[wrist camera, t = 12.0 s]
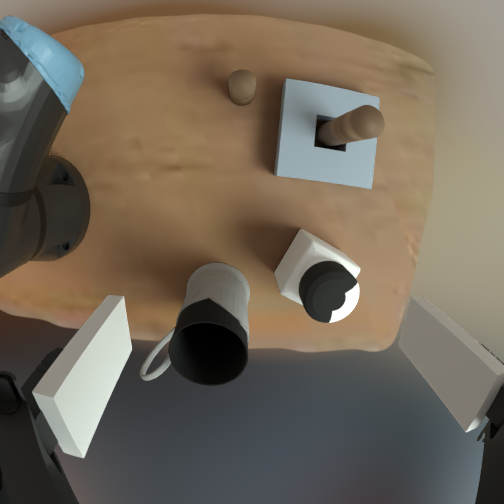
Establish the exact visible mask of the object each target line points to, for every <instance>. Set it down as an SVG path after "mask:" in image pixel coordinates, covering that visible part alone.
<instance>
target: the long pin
mask: <svg viewBox="0 0 504 504" xmlns="http://www.w3.org/2000/svg"><path fill="white" fill-rule="evenodd" d="M383 130H384V118H383V116H382V114H381V112H380V111H379V110H378V109H377V108H375V107H373V106H371V105H362V106H360V107H358V108H356V109H353V110H351V111H349V112H347V113H345V114H343V115H341V116H339V117H337V118H334V119H332V120H330V121H328V122H326V123H324V124H322V125H320V126H319V127H317V129H316V130H315V140H316V141H317V143H318V144H319V145H321V146H323V147H330V146H335V145H340V144H345V143H350V142H355V141H361V140H366V139H372V138H376V137H378V136H379V135H380V134H381V133H382V132H383Z"/></svg>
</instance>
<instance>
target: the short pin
mask: <svg viewBox="0 0 504 504" xmlns="http://www.w3.org/2000/svg"><path fill="white" fill-rule="evenodd" d="M228 86H229V93H230V98H231V100H232V102H233V103H234V104H236V105H239V106H244V105H247V104H249V103H250V102H251V101H252V100H253V97H254V93H255V88H256V78H255V76H254V75H253V74H252V73H251V72H249V71H247V70H238V71H235V72H234V73H232V74H231V75H230V77H229V79H228Z"/></svg>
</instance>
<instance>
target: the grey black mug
mask: <svg viewBox="0 0 504 504" xmlns="http://www.w3.org/2000/svg"><path fill="white" fill-rule="evenodd" d="M249 298H250V289H249V285H248V282H247V280H246V278H245V277H244V275H243V274H242V273H241V272H240V271H239V270H238V269H236V268H234V267H233V266H230V265H228V264H224V263H209V264H206V265H204V266H201V267H200V268H198V269H197V270H196V271H195V272H194V273H193V274H192V275H191V277H190V278H189V280H188V283H187V288H186V297H185V299H184V302H183V304H182V307H181V309H180V312H179V315H178V317H177V322H176V327H175V328H174V329H173V330H172V331H170V332H169V333H168V334H167V335H166V336H165V337H164V338H163V339H162V340H161V341H160V342H159V343H158V344H157V345H156V347H155V348H154V349H153V350H152V351H151V353H150V354H149V355H148V357H147V358H146V360H145V362H144V364H143V365H142V368H141V370H140V376H141V377H142V379H144V380H147V381H148V380H152V379H154V378H156V377H158V376H159V375H160V374H162V373H163V372H164V371H165V370H166V369H167V368H168V366H169V365H170V363H172V365H173V366H174V368H175V369H176V371H177V372H178V373H179V374H181V375H182V376H183V377H184V378H186V379H188V380H189V381H192V382H194V383H197V384H200V385H207V386H217V385H222V384H226V383H228V382H231V381H233V380H234V379H236V378H237V377H238V376H239V375H241V373H242V372H243V371H244V369H245V367H246V365H247V362H248V342H249V328H248V310H247V304H248V302H249ZM170 339H171V341H170V344H169V349H168V351H169V352H168V355H167V357H166V359H165V360H164V362H163V363H162V364H161V365H160V367H159V368H157V369H156V370H155V371H154V372H152V373H150V374H148V375H145V374H146V371H147V368H148V366H149V365H150V363H151V361H152V360H153V358H154V357H155V356H156V354H157V353H158V352H159V350H160V349H161V348H162V347H163V346H164V345H165V344H166V343H167V342H168V341H169V340H170Z"/></svg>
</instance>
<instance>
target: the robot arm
mask: <svg viewBox="0 0 504 504" xmlns="http://www.w3.org/2000/svg"><path fill="white" fill-rule="evenodd" d="M83 80H84V68H83V65H82V64H81V62H80V61H79V60H78V58H77V57H76V56H75V55H74V54H73V53H72V52H70V51H69V50H68V49H67V48H66V47H64V46H63V45H62V44H60V43H59V42H58V41H56V40H55V39H54V38H52V37H51V36H49V35H48V34H46V33H45V32H43V31H41V30H40V29H38V28H37V27H35V26H33V25H29V24H28V23H26V22H24V21H23V20H22V19H20V18H17V17H14V16H6V17H4V18H3V19H2V20H1V21H0V278H1V277H3V276H5V275H6V274H8V273H10V272H11V271H13V270H15V269H16V268H18V267H20V266H21V265H23V264H25V263H27V262H28V261H54V260H57V259H60V258H62V257H64V256H65V255H67V254H69V253H71V252H72V251H73V250H74V249H75V248H76V247H77V246H78V245H79V244H80V243H81V241H82V239H83V238H84V236H85V233H86V231H87V227H88V223H89V218H90V201H89V195H88V190H87V187H86V184H85V182H84V180H83V178H82V176H81V174H80V173H79V171H78V170H77V169H76V168H75V167H74V166H73V165H72V164H71V163H70V162H68V161H67V160H65V159H63V158H60V157H55V156H47V155H48V153H49V151H50V149H51V146H52V144H53V142H54V140H55V138H56V136H57V133H58V131H59V129H60V127H61V125H62V123H63V121H64V119H65V117H66V115H67V114H69V113H70V110H71V107H70V106H71V104H72V102H73V100H74V98H75V96H76V94H77V92H78V90H79V88H80V87H81V85H82V83H83ZM398 346H399V347H400V348H401V350H402V351H403V352H404V353H405V355H406V356H407V357H408V358H409V359H410V361H411V362H412V363H413V364H414V366H415V367H416V368H417V369H418V371H419V372H420V373H421V374H422V376H423V377H424V378H425V380H426V381H427V382H428V383H429V385H430V386H431V387H432V388H433V390H434V391H435V392H436V394H437V395H438V396H439V398H440V399H441V400H442V401H443V403H444V404H445V405H446V407H447V408H448V409H449V411H450V412H451V413H452V415H453V416H454V417H455V419H456V420H457V421H458V423H459V424H460V426H461V427H462V428H463V429H464V431H465V432H468V431H470V430H472V429H475V428H477V427H479V425H480V424H481V422H482V420H483V419H484V417H485V416H487V417H488V418H489V421H488V423H487V424H486V426H485V427H484V429H483V430H482V432H481V433H480V435H479V436H478V438H477V441H479V440H480V439H481V437H482V436H483V435H485V438H484V439H483V441H482V442H484V451H483V460H482V468H481V474H480V481H479V487H478V492H477V497H476V502H475V504H504V363H502V362H501V361H500V360H499V359H498V358H497V357H495V355H493V354H492V353H491V352H489V350H488V349H487V348H486V347H484V346H483V345H482V344H480V343H479V342H477V341H476V340H475V339H474V338H473V337H472V336H470V335H469V334H468V333H467V332H466V331H465V330H463V329H462V328H461V327H460V326H459V325H457V324H456V323H455V322H454V321H453V320H452V319H450V318H449V317H448V316H447V315H446V314H444V313H443V312H442V311H441V310H439V309H438V308H437V307H436V306H435V305H433V304H432V303H431V302H429V301H428V300H427V299H426V298H425V297H423V296H420V297H411V299H410V303H409V308H408V311H407V316H406V319H405V323H404V327H403V330H402V334H401V337H400V341H399V345H398ZM131 350H132V346H131V340H130V334H129V328H128V322H127V315H126V308H125V301H124V296H115V295H108V296H107V297H106V298H105V299H104V301H103V302H102V303H101V304H100V305H99V306H98V308H97V309H96V310H95V311H94V312H93V314H92V315H91V316H90V317H89V318H88V320H87V321H86V322H85V323H84V325H83V326H82V327H81V328H80V329H79V331H78V332H77V333H76V334H75V336H74V337H73V338H72V339H71V341H70V342H69V343H68V345H67V346H66V347H65V348H64V349H63V348H56V349H55V350H53V351H52V352H50V353H49V354H47V355H46V357H45V358H44V359H43V360H42V362H41V364H39V365H38V367H37V368H36V371H34V372H33V373H32V374H31V376H30V377H29V378H28V379H27V381H26V382H25V383H24V385H23V386H22V388H20V386H19V384H18V382H17V379H16V377H15V375H13V374H12V373H10V372H6V371H0V504H79V502H78V501H77V498H76V496H75V495H74V492H73V490H72V489H71V486H70V484H69V482H68V480H67V478H66V475H65V473H64V471H63V469H62V466H61V464H60V461H59V459H58V456H57V455H56V453H55V451H54V449H55V446H56V444H57V442H58V443H59V445H60V447H61V448H62V450H63V452H64V453H67V454H70V455H74V456H77V457H81V458H84V457H85V454H86V452H87V449H88V447H89V444H90V442H91V439H92V437H93V435H94V432H95V430H96V427H97V425H98V423H99V420H100V418H101V416H102V413H103V411H104V409H105V406H106V404H107V402H108V400H109V398H110V395H111V393H112V391H113V389H114V387H115V384H116V382H117V380H118V378H119V376H120V374H121V371H122V369H123V367H124V365H125V363H126V361H127V359H128V357H129V355H130V352H131Z"/></svg>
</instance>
